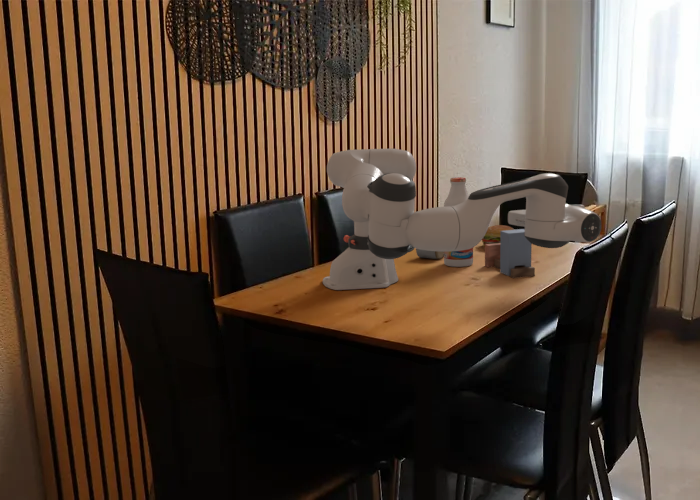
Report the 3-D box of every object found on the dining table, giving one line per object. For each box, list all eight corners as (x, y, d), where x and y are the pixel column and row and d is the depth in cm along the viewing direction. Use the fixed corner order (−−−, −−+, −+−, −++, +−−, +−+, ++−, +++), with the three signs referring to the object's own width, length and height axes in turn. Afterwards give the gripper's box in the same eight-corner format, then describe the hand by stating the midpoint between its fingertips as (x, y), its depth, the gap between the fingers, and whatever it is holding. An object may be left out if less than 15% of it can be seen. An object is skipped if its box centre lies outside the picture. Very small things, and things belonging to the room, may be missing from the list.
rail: (513, 278, 207) (513, 254, 206) (484, 265, 224) (485, 244, 223) (534, 275, 209) (534, 252, 207) (504, 263, 226) (504, 242, 225)
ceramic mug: (437, 261, 233) (437, 238, 232) (415, 259, 238) (415, 236, 236) (451, 256, 242) (451, 234, 240) (430, 254, 246) (430, 232, 245)
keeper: (508, 275, 209) (508, 233, 207) (500, 272, 214) (500, 230, 211) (531, 273, 211) (531, 231, 209) (522, 269, 216) (523, 228, 213)
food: (478, 251, 248) (478, 228, 246) (482, 243, 261) (482, 222, 260) (518, 252, 244) (518, 229, 242) (520, 244, 257) (520, 222, 256)
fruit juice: (461, 259, 234) (461, 175, 229) (479, 264, 226) (479, 177, 220) (438, 263, 230) (437, 178, 224) (455, 268, 222) (454, 180, 216)
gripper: (522, 233, 186) (497, 226, 199) (589, 227, 192) (560, 220, 205) (522, 210, 185) (497, 204, 198) (589, 204, 191) (561, 199, 204)
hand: (530, 212), depth 202 cm, fingers closed
